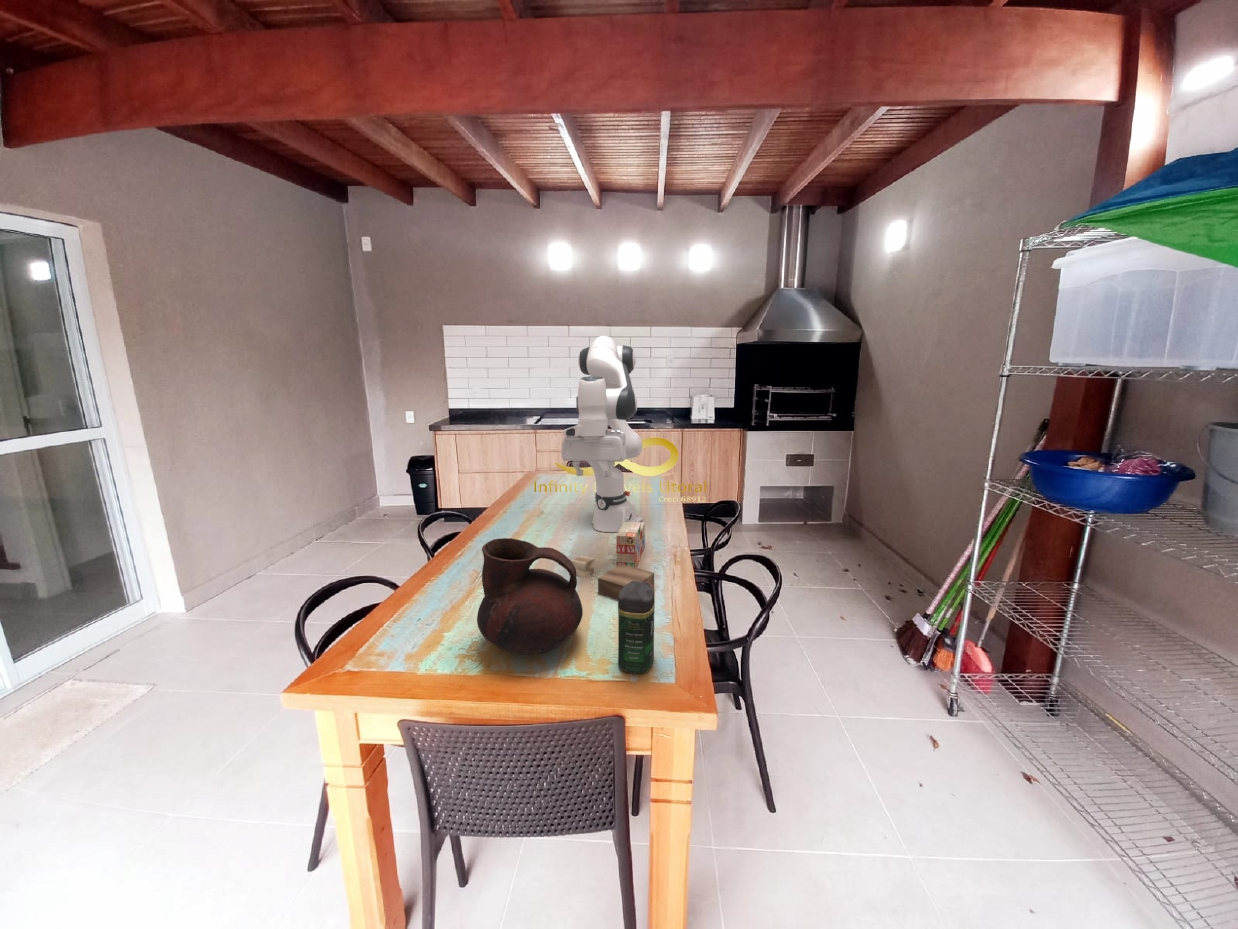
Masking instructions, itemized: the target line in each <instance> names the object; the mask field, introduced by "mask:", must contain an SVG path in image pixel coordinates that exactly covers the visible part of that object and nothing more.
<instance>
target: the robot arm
mask: <svg viewBox="0 0 1238 929" xmlns="http://www.w3.org/2000/svg"><path fill="white" fill-rule="evenodd" d="M636 362H637V357H636V354H635V351H634V348H632V347H631V346H629V345H622V346H621V345H617V343H616V341H615V340H614V339H613V338H612V337H610V336H609V335H601V336H597V337H596V338H595V339H594V340H592V342H591V344H590V346H588V347H584V348H583V349H581V350H580V351H579V355H578V360H577V363H578V366H579V370H580V371H581V373H582V374H583V375H586V376H583V377H581V378H580V379H579V382H578V387H577V388H578V390H577V396H576V397H575V399H576V401H575V403H576V404H575V405H576V412H577V413H578V419H577V424H576V425H574V426H570V427H568V428H566V429H564V430H563V432H562V433H563V437H564V438H563V439H562V441H561V458H562V460H563V461H564V462H565V461H567V462H572V465H573V467H574V469H575V471H576V476H577V477H582V476H584V469H581V467H580V464H581V462H587V463H588V464H589V466H590V467H591V468H592V471H593V473H594V478H595V487H596V488H595V489H596V492H595V495H594V498H595V500H594V502H595V504H594V506H593V518H592V520H591V524H592V527H593V529H594V530H596V531H599V532H605V533H618V532H619V530H620V529H621V527H622V524H623V523H628V522H640V521H641V520H642V521H643V517H641V516H640V515H638V514H637V508H636V506H635V505H634V504H633V503H631V502H630V501H628V499H627V497H630V495H631V492H630V490H629V491H628V490H627V491H626V490H625V485H624V484H625V482H624V481H625V476H624V473H623V472H622V471H621V470H620V469H619V468H617V467H615V465H616V463H617V462H618V463H622V462H625V460H629V459H634V458H637V457H639V456H640V454H641V453H642V449H643V440H642V438H641V436H640V435H639V434H638V433H637V432H636V431H634V430H633V428H631V426H629V424H628V422H627V421H629V420H631V419H632V418H633V417H634V416H635V415H636V414H637V413H636V412H637V410H638V401H637V400H638V399H637V396H636V394H635V392H634V389H633V385H632V381H631V377H630V374H631V373H632V372H633V371H634V369H635V366H636ZM609 427H610V428H611V430H610V429H609ZM608 429H609V430H608ZM642 521H641V522H642Z"/></svg>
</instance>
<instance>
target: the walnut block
mask: <svg viewBox="0 0 1238 929" xmlns="http://www.w3.org/2000/svg"><path fill="white" fill-rule="evenodd" d="M631 581H639V582H646V583H649V584H650V585H651V586H652V587H653V589H654V590H655V572H652V571H650V570H646V569H642V568H638V567H637V568H635V567H632V566H628V565H625V564H619V565H618V566H617V565H616V566H614V567H613V568H611V569H610V570H608V571H607V572H605V573H604V574H601V575H600V576H599V577H597V593H598V595H601V596H604V597H607V598H610V599H613V600H616V601H618V596H619V594H620V592H621V590H622V588H623V587H624V586H625V585H626V584H628V583H630V582H631Z"/></svg>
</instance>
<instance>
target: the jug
mask: <svg viewBox="0 0 1238 929" xmlns="http://www.w3.org/2000/svg"><path fill="white" fill-rule="evenodd" d="M481 551H482V556H483V564H482V569H481V571H482V572H481V584H482V588H483V594H484V596H483V598H482V600H481V602H480V604H479V606H478V610H477V616H476V618H477V619H476V623H477V628H478V630H479V632H480V634H481V635H482V636H483V638H484V639H485V640H486V641H487V642H489V643H490V644H492V645H494V646H495V647H497V648H499V649H501V650H503V651H506V652H508V653H512V654H519V655H533V654H534V655H535V654H539V653H540V654H541V653H544V652H549V651H550V650H553V649H555V648H557V647H559V646H560V645H562V644H564V643H565V642H566V641H568V639H570V638H571V636H572V635H573V634H574V633H575V632H576V630H577V629H578V627H579V625H580V624H581V623H582V622H581V621H582V619H583V618H582V617H583V614H584V613H583V605H582V602H581V601H582V600H581V598H580V595H579V593H578V591H577V589H576V588H577V586H578V577H577V576H576V568H575V566H574V564H573V563H572V560H570V558H569V557H567V556H566V555H565V554H564V553H563V552H561V551H559V550H557V549H555V548H553V547H544V546H543V547H542V546H541V547H538V546H536V545H535V544H533V543H531V542H529V541H526V540H520V539H517V538H508V537H502V538H494V539H491V540H490V541H488V542H485V544H484V545H483V546H482V547H481ZM540 559H546V560H550V561H553V562H555V563H557V564H558V565H559V566H561V567H562V568H563V569H564V570H566V572H568V574H569V580H568V579H566V578H565V577H564V576H562V575H561V574H559V573H557V572H554V571H551V570H548V569H544V568H531V567H532V565H533V563H534V562H535V561H537V560H540Z"/></svg>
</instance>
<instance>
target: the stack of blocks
mask: <svg viewBox="0 0 1238 929" xmlns="http://www.w3.org/2000/svg"><path fill="white" fill-rule="evenodd" d="M616 533H617V534H616V537H615V538H616V542H615V543H616V545H615V546H616V547H615V548H616V566H618V565H619V564H625V565H628V566H632V567H635V568H638V566H639V564H640V560H641V557H642V553H643V551H644V549H645V546H646V545H645V543H646V541H645V540H646V531H645V522H642V521H641V522H628V523H623V524H622V527H621V529H620V530H619V532H616Z"/></svg>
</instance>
